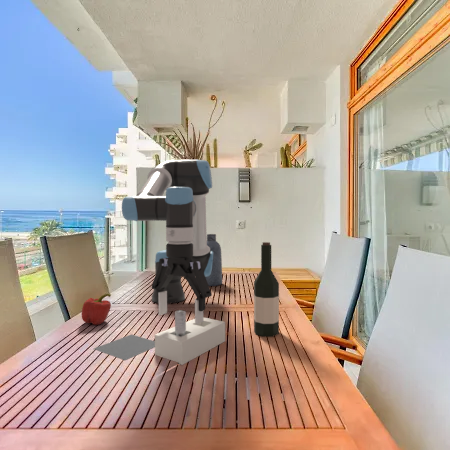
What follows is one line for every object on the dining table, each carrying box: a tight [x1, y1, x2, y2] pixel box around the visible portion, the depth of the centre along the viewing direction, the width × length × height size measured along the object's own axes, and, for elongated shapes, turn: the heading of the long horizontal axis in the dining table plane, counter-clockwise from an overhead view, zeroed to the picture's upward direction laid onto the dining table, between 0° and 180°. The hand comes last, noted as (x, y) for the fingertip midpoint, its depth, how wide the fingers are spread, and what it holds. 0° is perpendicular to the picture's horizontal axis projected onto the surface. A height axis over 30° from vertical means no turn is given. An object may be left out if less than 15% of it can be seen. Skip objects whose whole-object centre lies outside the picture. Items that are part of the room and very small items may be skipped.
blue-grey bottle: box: [206, 233, 223, 287], centre depth 190 cm, size 12×12×28 cm
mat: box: [93, 334, 155, 361], centre depth 99 cm, size 14×14×1 cm
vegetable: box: [81, 293, 112, 326], centre depth 122 cm, size 11×10×10 cm
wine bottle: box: [253, 241, 280, 338], centre depth 111 cm, size 8×8×30 cm
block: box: [154, 316, 226, 366], centre depth 98 cm, size 20×10×6 cm, turn 146°
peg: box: [174, 309, 187, 337], centre depth 94 cm, size 3×3×12 cm
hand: (180, 318), depth 94 cm, fingers open, 13 cm apart
